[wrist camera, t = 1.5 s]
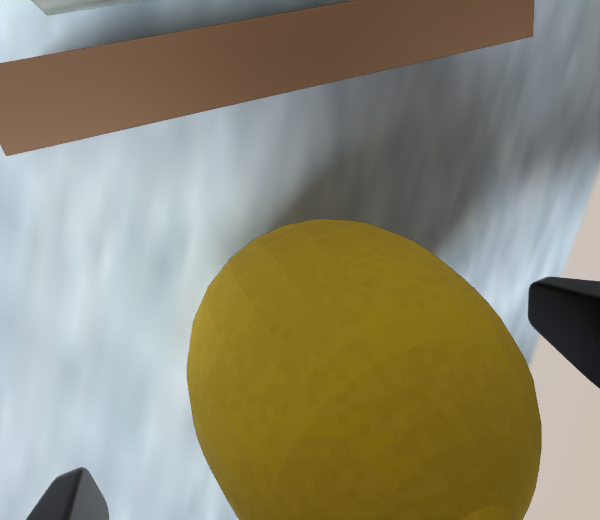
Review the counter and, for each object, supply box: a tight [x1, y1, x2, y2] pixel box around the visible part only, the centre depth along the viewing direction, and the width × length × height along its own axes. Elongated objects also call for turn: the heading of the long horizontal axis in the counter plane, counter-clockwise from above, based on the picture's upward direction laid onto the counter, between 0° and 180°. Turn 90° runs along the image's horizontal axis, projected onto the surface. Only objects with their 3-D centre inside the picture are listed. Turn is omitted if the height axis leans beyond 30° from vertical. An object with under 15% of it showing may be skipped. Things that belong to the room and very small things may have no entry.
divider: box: [0, 0, 534, 156], centre depth 8 cm, size 1×10×2 cm, turn 102°
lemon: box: [187, 219, 541, 520], centre depth 8 cm, size 6×6×8 cm
